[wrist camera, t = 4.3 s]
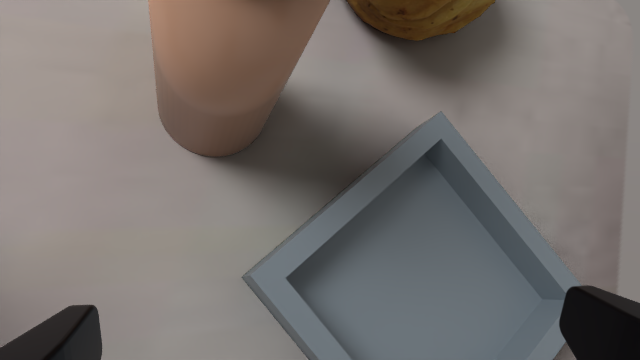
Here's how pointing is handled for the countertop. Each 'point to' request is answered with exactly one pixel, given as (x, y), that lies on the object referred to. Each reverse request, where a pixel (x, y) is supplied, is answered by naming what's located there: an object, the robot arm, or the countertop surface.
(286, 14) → the jar
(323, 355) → the tray
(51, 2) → the countertop surface
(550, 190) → the countertop surface
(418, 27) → the bread roll
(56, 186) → the countertop surface
